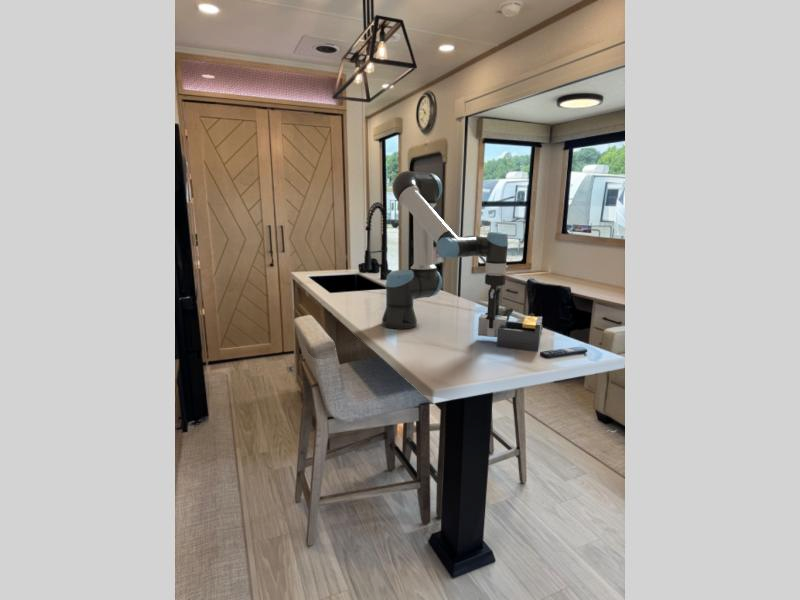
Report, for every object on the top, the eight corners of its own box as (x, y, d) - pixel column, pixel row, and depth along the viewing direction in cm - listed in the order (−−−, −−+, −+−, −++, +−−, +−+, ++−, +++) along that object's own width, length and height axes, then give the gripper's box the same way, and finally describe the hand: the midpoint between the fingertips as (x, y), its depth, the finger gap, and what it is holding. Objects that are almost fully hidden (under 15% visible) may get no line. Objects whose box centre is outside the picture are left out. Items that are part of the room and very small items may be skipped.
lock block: (477, 335, 168) (478, 317, 166) (480, 331, 173) (481, 314, 172) (504, 338, 164) (505, 319, 163) (506, 333, 170) (507, 316, 168)
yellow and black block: (541, 337, 177) (548, 317, 181) (516, 326, 178) (523, 306, 183) (533, 346, 186) (539, 326, 190) (509, 335, 187) (515, 316, 191)
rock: (494, 324, 191) (506, 304, 190) (476, 313, 201) (487, 294, 201) (511, 334, 198) (522, 315, 198) (492, 323, 209) (503, 305, 208)
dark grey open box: (496, 346, 162) (498, 320, 160) (501, 337, 174) (503, 312, 172) (537, 351, 157) (540, 325, 155) (540, 341, 169) (542, 316, 167)
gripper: (502, 278, 154) (498, 341, 159) (508, 271, 171) (505, 328, 176) (480, 276, 156) (477, 339, 161) (489, 270, 174) (486, 326, 179)
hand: (492, 333), depth 169 cm, fingers closed on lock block, 6 cm apart
